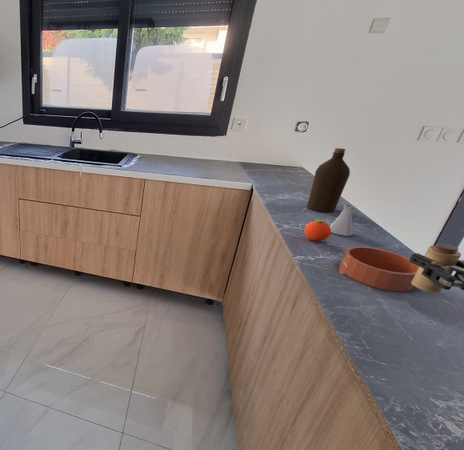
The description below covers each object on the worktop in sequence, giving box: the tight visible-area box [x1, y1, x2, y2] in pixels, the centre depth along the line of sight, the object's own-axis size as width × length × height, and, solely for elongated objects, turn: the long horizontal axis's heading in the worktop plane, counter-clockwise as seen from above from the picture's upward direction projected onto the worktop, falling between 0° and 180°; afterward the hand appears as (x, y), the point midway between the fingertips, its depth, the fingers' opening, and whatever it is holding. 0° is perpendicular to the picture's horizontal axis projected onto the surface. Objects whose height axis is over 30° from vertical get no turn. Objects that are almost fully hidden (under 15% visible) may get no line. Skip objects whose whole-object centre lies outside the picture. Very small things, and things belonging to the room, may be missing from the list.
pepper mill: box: [411, 242, 462, 294], centre depth 66 cm, size 4×4×10 cm
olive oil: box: [306, 147, 351, 213], centre depth 126 cm, size 11×11×25 cm
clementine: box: [303, 219, 332, 242], centre depth 104 cm, size 8×7×7 cm
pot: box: [338, 245, 419, 292], centre depth 83 cm, size 15×15×6 cm
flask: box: [329, 203, 357, 237], centre depth 108 cm, size 7×7×10 cm
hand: (424, 256), depth 68 cm, fingers closed on pepper mill, 4 cm apart
